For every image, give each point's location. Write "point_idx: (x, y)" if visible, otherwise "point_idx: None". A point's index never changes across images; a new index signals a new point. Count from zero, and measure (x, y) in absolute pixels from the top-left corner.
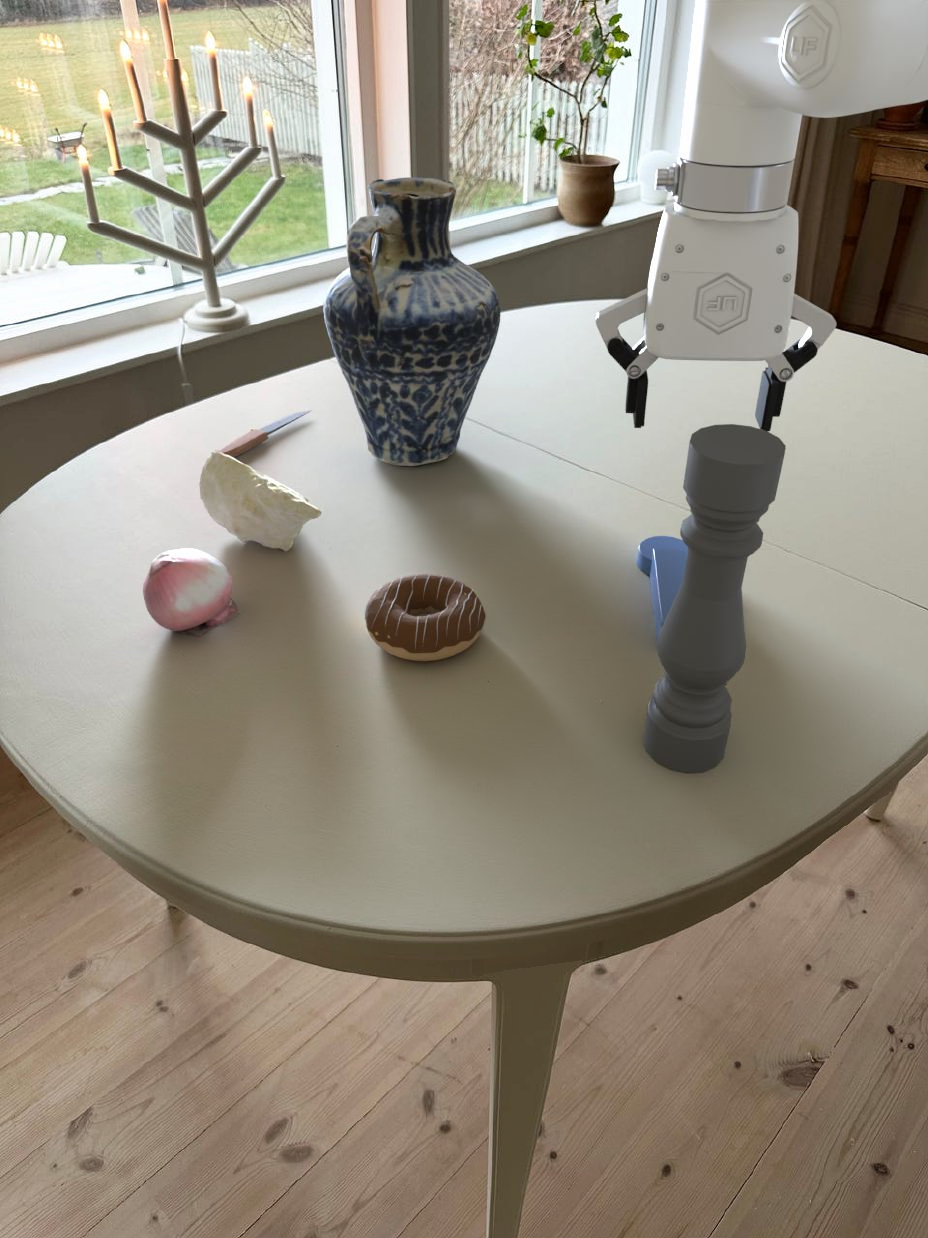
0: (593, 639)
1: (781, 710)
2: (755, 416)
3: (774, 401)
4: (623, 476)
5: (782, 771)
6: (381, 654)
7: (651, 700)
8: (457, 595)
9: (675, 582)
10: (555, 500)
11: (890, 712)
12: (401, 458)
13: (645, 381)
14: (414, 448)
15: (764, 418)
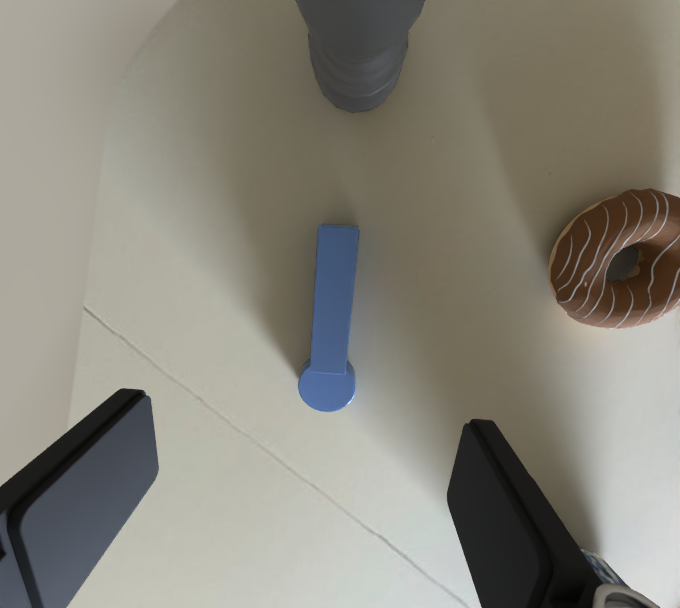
0: (422, 249)
1: (245, 127)
2: (158, 465)
3: (49, 449)
4: (345, 525)
5: (260, 18)
6: None
7: (401, 58)
8: (596, 280)
9: (330, 309)
10: (421, 487)
11: (134, 126)
12: (585, 556)
13: (560, 560)
14: None
15: (121, 412)
